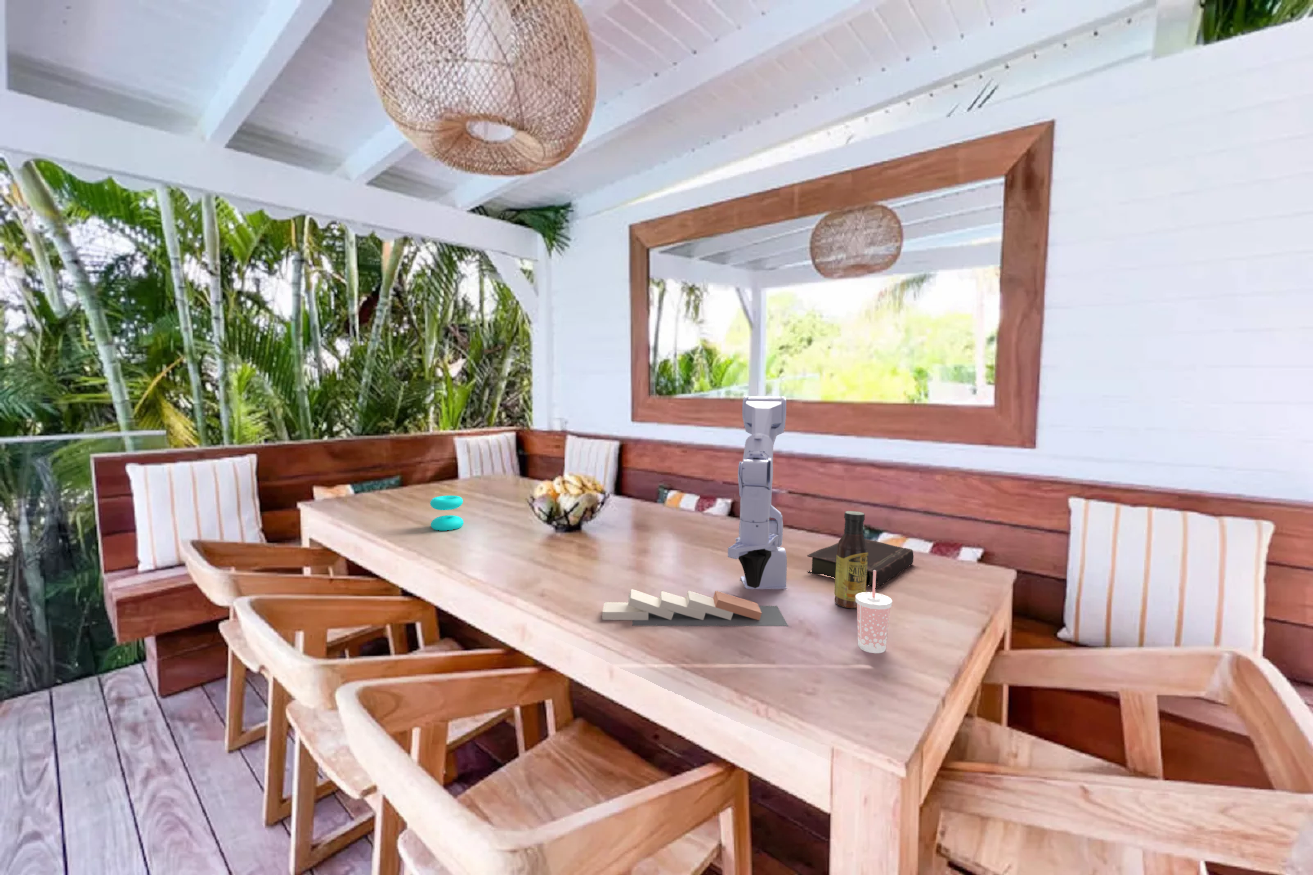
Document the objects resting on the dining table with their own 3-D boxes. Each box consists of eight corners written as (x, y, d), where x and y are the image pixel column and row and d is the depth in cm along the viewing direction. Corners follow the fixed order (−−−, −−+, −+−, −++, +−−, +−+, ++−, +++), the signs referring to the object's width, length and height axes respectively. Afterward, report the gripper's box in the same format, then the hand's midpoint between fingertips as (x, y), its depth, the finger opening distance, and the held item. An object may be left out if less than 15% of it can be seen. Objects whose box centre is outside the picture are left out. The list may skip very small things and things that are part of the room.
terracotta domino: (759, 620, 111) (715, 607, 111) (754, 610, 116) (713, 597, 116) (761, 612, 111) (718, 599, 111) (757, 603, 116) (715, 590, 116)
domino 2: (672, 602, 116) (631, 588, 116) (673, 612, 111) (630, 597, 111) (670, 609, 116) (628, 595, 116) (671, 620, 111) (627, 605, 111)
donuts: (445, 493, 190) (469, 495, 186) (445, 523, 191) (470, 525, 187) (422, 499, 181) (448, 501, 177) (424, 530, 181) (449, 533, 178)
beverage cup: (897, 652, 99) (901, 574, 98) (867, 657, 97) (871, 577, 96) (874, 637, 105) (878, 563, 104) (846, 641, 103) (849, 566, 102)
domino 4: (729, 603, 116) (688, 590, 116) (733, 612, 111) (689, 599, 111) (727, 610, 116) (685, 597, 116) (730, 620, 111) (687, 607, 111)
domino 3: (703, 602, 116) (661, 590, 116) (705, 612, 111) (661, 600, 111) (700, 610, 116) (658, 598, 116) (703, 620, 111) (659, 607, 111)
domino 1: (648, 602, 116) (604, 602, 116) (648, 612, 111) (602, 612, 111) (648, 610, 116) (604, 609, 116) (648, 620, 111) (602, 619, 111)
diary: (914, 567, 148) (915, 548, 148) (877, 593, 130) (879, 571, 129) (845, 552, 161) (846, 534, 160) (803, 573, 142) (804, 554, 142)
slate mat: (777, 607, 119) (777, 605, 119) (788, 627, 109) (788, 625, 109) (634, 607, 119) (634, 605, 119) (632, 627, 109) (632, 625, 109)
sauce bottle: (849, 612, 117) (853, 517, 115) (827, 602, 122) (830, 511, 120) (872, 606, 120) (876, 514, 118) (849, 597, 125) (853, 508, 123)
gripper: (758, 510, 120) (757, 573, 121) (715, 522, 110) (714, 590, 111) (787, 516, 115) (786, 581, 116) (745, 528, 105) (744, 599, 106)
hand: (753, 586), depth 113 cm, fingers closed
